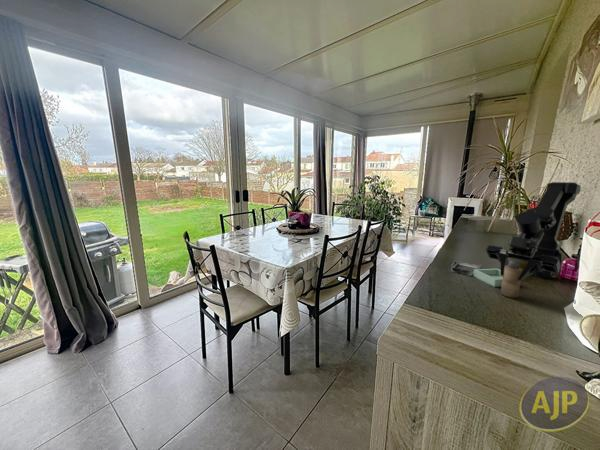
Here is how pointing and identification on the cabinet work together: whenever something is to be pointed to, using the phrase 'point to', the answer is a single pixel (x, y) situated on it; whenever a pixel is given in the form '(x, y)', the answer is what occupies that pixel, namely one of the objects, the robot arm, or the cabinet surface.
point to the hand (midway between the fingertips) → (510, 277)
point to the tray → (489, 276)
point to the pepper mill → (511, 279)
